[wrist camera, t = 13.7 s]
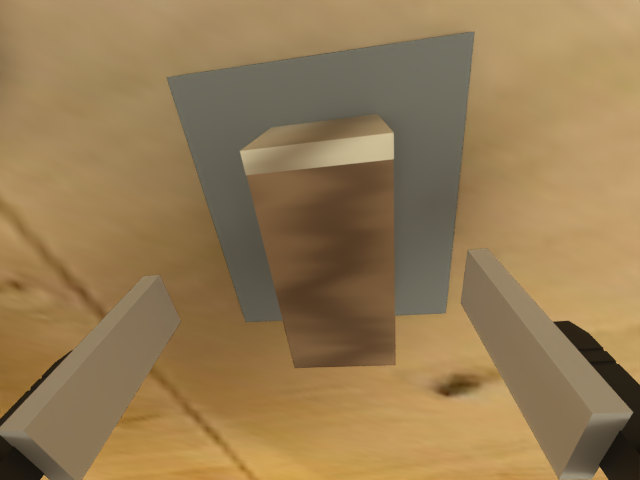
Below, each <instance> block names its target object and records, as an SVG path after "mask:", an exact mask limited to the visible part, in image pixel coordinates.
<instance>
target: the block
mask: <svg viewBox="0 0 640 480" xmlns="http://www.w3.org/2000/svg"><path fill="white" fill-rule="evenodd" d="M240 154H241V158H242V162H243V166H244V170H245V174H246V175H247V179H248V183H249V187H250V191H251V195H252V199H253V203H254V207H255V211H256V215H257V219H258V223H259V227H260V231H261V235H262V239H263V243H264V247H265V251H266V255H267V259H268V263H269V267H270V271H271V275H272V279H273V283H274V287H275V291H276V295H277V299H278V303H279V307H280V311H281V315H282V319H283V323H284V327H285V331H286V335H287V339H288V343H289V347H290V351H291V355H292V359H293V363H294V367H295V368H310V367H346V366H382V365H396V362H395V267H394V172H393V159H394V132H393V131H392V130H391V129H390V128H389V127H388V125H387V124H386V123H385V122H384V121H383V120H382V118H381V117H380V116H379V115H378V114H373V115H365V116H357V117H349V118H341V119H333V120H326V121H318V122H310V123H302V124H294V125H286V126H279V127H271V128H270V129H269V130H267V131H266V132H265V133H263V134H262V135H261V136H259V137H258V138H257V139H255V140H254V141H252V142H251V143H250V144H248V145H247V146H246V147H244V148H243V149H242V150H240Z"/></svg>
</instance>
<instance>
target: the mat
mask: <svg viewBox="0 0 640 480" xmlns="http://www.w3.org/2000/svg"><path fill="white" fill-rule="evenodd" d="M474 32H475V31H474ZM474 32H467V33H461V34H454V35H447V36H441V37H434V38H427V39H421V40H414V41H407V42H400V43H394V44H387V45H380V46H374V47H367V48H360V49H354V50H347V51H340V52H334V53H327V54H320V55H313V56H307V57H300V58H293V59H287V60H280V61H273V62H267V63H260V64H253V65H246V66H240V67H233V68H226V69H220V70H213V71H206V72H200V73H193V74H186V75H179V76H173V77H167V80H168V83H169V86H170V89H171V92H172V96H173V99H174V102H175V105H176V108H177V111H178V114H179V117H180V120H181V123H182V127H183V130H184V133H185V136H186V139H187V142H188V145H189V148H190V151H191V154H192V158H193V161H194V164H195V167H196V170H197V173H198V176H199V179H200V182H201V185H202V189H203V192H204V195H205V198H206V201H207V204H208V207H209V210H210V213H211V216H212V220H213V223H214V226H215V229H216V232H217V235H218V238H219V241H220V244H221V247H222V250H223V254H224V257H225V260H226V263H227V266H228V269H229V272H230V275H231V278H232V281H233V285H234V288H235V291H236V294H237V297H238V300H239V303H240V306H241V309H242V312H243V316H244V319H245V322H260V321H283V319H282V315H281V311H280V307H279V303H278V299H277V295H276V291H275V287H274V283H273V279H272V275H271V271H270V267H269V263H268V259H267V255H266V251H265V247H264V243H263V239H262V235H261V231H260V227H259V223H258V219H257V215H256V211H255V207H254V203H253V199H252V195H251V191H250V187H249V183H248V179H247V175H246V174H245V170H244V166H243V162H242V158H241V154H240V150H242V149H243V148H244V147H246V146H247V145H248V144H250V143H251V142H252V141H254V140H255V139H257V138H258V137H259V136H261V135H262V134H263V133H265V132H266V131H267V130H269V129H270V128H271V127H279V126H286V125H294V124H302V123H310V122H318V121H326V120H333V119H341V118H349V117H357V116H365V115H373V114H378V115H379V116H380V117H381V118H382V120H383V121H384V122H385V123H386V124H387V125H388V127H389V128H390V129H391V130H392V131H393V132H394V159H393V172H394V267H395V316H397V315H419V314H442V313H446V307H447V297H448V288H449V278H450V268H451V258H452V248H453V238H454V229H455V219H456V209H457V199H458V189H459V179H460V170H461V160H462V150H463V140H464V130H465V120H466V111H467V101H468V91H469V81H470V71H471V61H472V51H473V42H474Z"/></svg>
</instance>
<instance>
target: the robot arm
mask: <svg viewBox="0 0 640 480" xmlns="http://www.w3.org/2000/svg"><path fill="white" fill-rule="evenodd" d="M461 304H462V306H463V308H464V310H465V312H466V313H467V315H468V317H469V319H470V321H471V322H472V324H473V326H474V328H475V330H476V331H477V333H478V335H479V337H480V339H481V340H482V342H483V344H484V346H485V348H486V349H487V351H488V353H489V355H490V357H491V358H492V360H493V362H494V364H495V366H496V367H497V369H498V371H499V373H500V375H501V376H502V378H503V380H504V382H505V384H506V385H507V387H508V389H509V391H510V393H511V394H512V396H513V398H514V400H515V402H516V403H517V405H518V407H519V409H520V411H521V412H522V414H523V416H524V418H525V420H526V421H527V423H528V425H529V427H530V429H531V430H532V432H533V434H534V436H535V438H536V439H537V441H538V443H539V445H540V447H541V448H542V450H543V452H544V454H545V456H546V457H547V459H548V461H549V463H550V465H551V466H552V468H553V470H554V472H555V474H556V475H557V477H558V479H592V478H593V476H594V475H595V473H596V472H597V470H598V468H599V467H600V468H601V469H602V471H603V472H604V473H605V475H606V476H607V478H608V479H609V480H640V385H639V384H638V383H637V382H636V381H635V380H634V379H633V378H632V377H631V376H630V375H629V374H628V373H627V372H626V371H625V370H624V369H623V368H622V367H621V366H620V365H619V364H617V363H616V360H615V359H614V358H613V357H612V356H611V355H610V354H609V353H608V352H607V351H604V350H603V347H602V346H601V345H600V344H599V343H598V342H597V341H596V340H595V339H594V338H593V337H592V336H591V335H590V334H589V333H588V332H586V331H584V330H583V329H581V328H579V327H578V326H576V325H575V324H573V323H571V322H570V321H557V322H553V321H552V320H551V319H550V318H549V317H548V316H547V315H546V314H545V312H544V311H543V310H542V309H541V308H540V307H539V306H538V305H537V303H536V302H535V301H534V300H533V299H532V298H531V297H530V296H529V294H528V293H527V292H526V291H525V290H524V289H523V288H522V287H521V285H520V284H519V283H518V282H517V281H516V280H515V279H514V278H513V276H512V275H511V274H510V273H509V272H508V271H507V270H506V269H505V267H504V266H503V265H502V264H501V263H500V262H499V261H498V260H497V258H496V257H495V256H494V255H493V254H492V253H491V252H490V251H489V249H488V248H485V249H473V250H468V251H467V258H466V266H465V274H464V281H463V289H462V297H461ZM180 322H181V320H180V318H179V316H178V313H177V311H176V309H175V307H174V305H173V303H172V300H171V298H170V296H169V294H168V292H167V290H166V287H165V285H164V283H163V281H162V279H161V276H160V275H152V276H143V277H142V278H141V279H140V280H139V281H138V283H137V284H136V285H135V286H134V287H133V288H132V289H131V290H130V291H129V292H128V293H127V294H126V295H125V296H124V297H123V298H122V299H121V300H120V301H119V303H118V304H117V305H116V306H115V307H114V308H113V309H112V310H111V311H110V312H109V313H108V314H107V315H106V316H105V317H104V318H103V319H102V320H101V321H100V322H99V324H98V325H97V326H96V327H95V328H94V329H93V330H92V331H91V332H90V333H89V334H88V335H87V336H86V337H85V338H84V339H83V340H82V341H81V342H80V344H79V345H78V346H77V347H76V348H75V349H74V350H72V351H70V352H69V353H68V354H66V355H65V356H63V357H62V358H61V359H59V360H58V361H57V362H55V363H54V364H53V365H52V366H51V367H50V368H49V369H48V370H47V371H46V372H45V373H44V375H43V376H42V378H41V379H39V380H38V381H37V382H36V383H35V384H34V385H33V386H32V387H31V390H30V391H27V392H26V393H25V394H24V395H23V396H22V397H21V398H20V399H19V400H18V401H17V402H16V403H15V404H14V405H13V406H12V407H11V408H10V409H9V410H8V412H7V413H6V414H5V415H4V416H3V417H2V418H1V419H0V480H40V479H41V478H42V476H43V475H45V476H46V477H47V478H48V479H50V480H82V479H83V477H84V476H85V474H86V473H87V471H88V469H89V468H90V466H91V465H92V463H93V461H94V460H95V458H96V457H97V455H98V453H99V452H100V450H101V449H102V447H103V445H104V444H105V442H106V441H107V439H108V437H109V436H110V434H111V433H112V431H113V429H114V428H115V426H116V425H117V423H118V421H119V420H120V418H121V417H122V415H123V413H124V412H125V410H126V409H127V407H128V405H129V404H130V402H131V401H132V399H133V397H134V396H135V394H136V393H137V391H138V389H139V388H140V386H141V385H142V383H143V381H144V380H145V378H146V377H147V375H148V373H149V372H150V370H151V369H152V367H153V365H154V364H155V362H156V360H157V359H158V357H159V356H160V354H161V352H162V351H163V349H164V348H165V346H166V344H167V343H168V341H169V340H170V338H171V336H172V335H173V333H174V332H175V330H176V328H177V327H178V325H179V324H180Z"/></svg>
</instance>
